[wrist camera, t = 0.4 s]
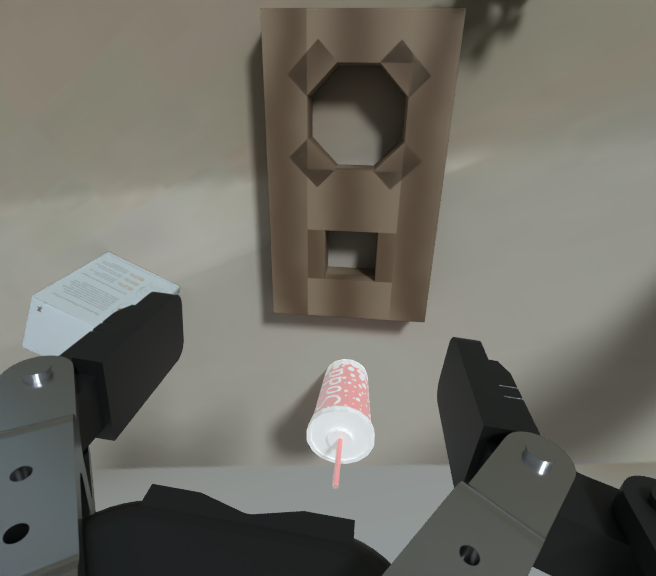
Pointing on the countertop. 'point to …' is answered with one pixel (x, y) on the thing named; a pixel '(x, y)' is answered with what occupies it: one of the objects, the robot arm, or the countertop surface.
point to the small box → (86, 302)
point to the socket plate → (357, 180)
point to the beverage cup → (342, 416)
